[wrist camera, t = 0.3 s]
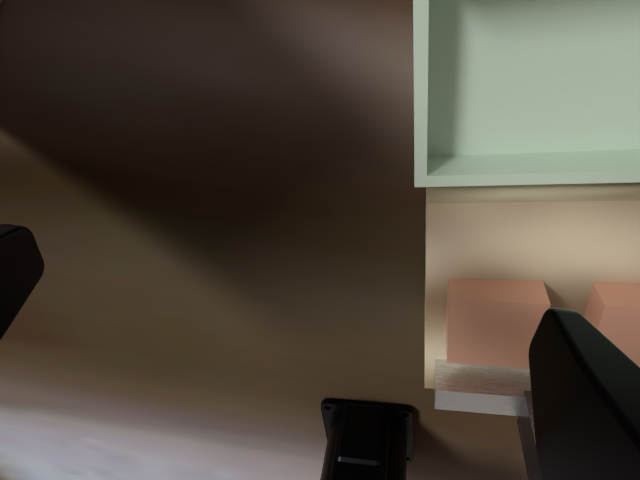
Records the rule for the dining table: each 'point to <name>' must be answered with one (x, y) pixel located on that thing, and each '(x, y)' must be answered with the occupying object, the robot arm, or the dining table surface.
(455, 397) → the scraper
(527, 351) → the tile
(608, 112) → the tray
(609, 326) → the tile
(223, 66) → the dining table surface
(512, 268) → the board
